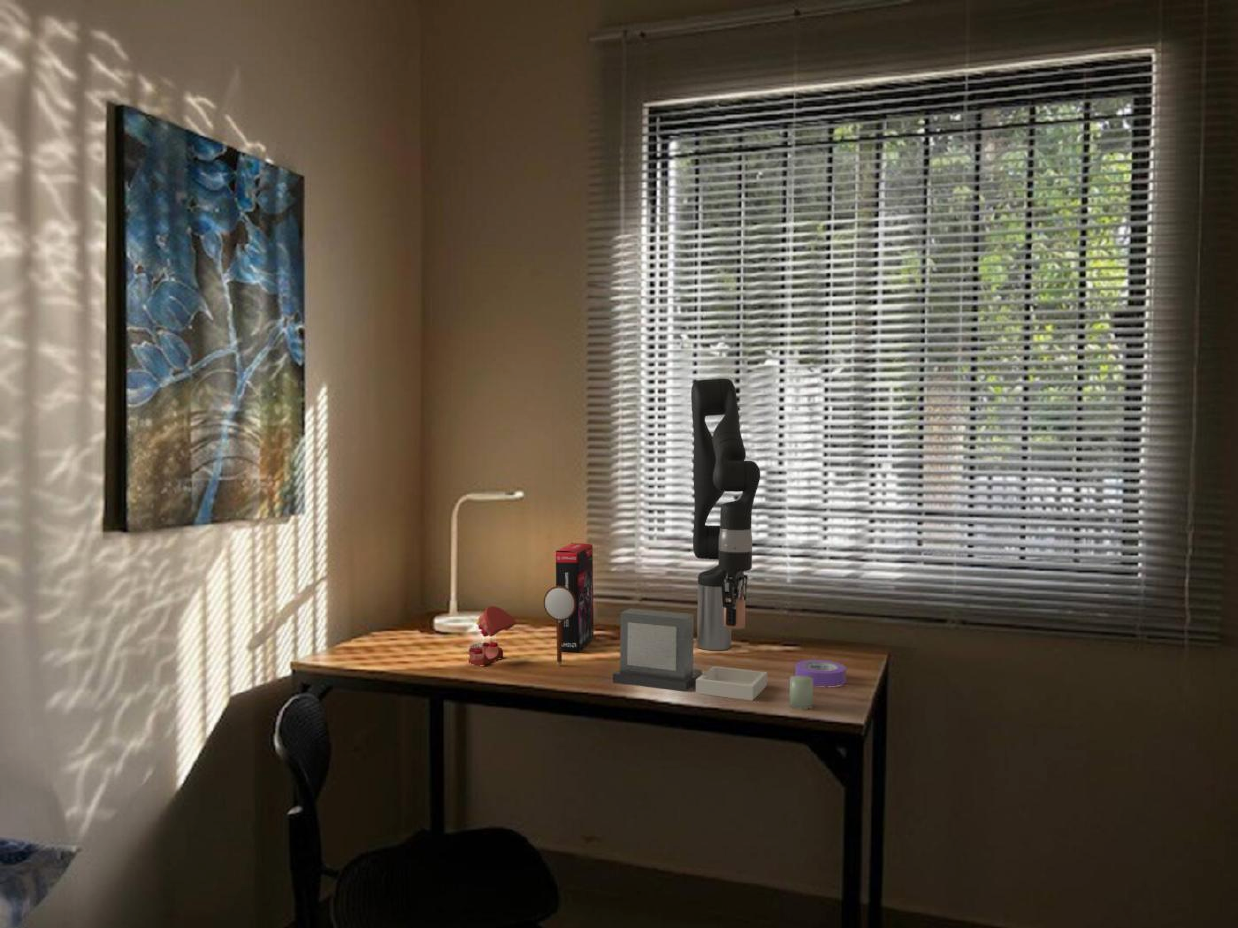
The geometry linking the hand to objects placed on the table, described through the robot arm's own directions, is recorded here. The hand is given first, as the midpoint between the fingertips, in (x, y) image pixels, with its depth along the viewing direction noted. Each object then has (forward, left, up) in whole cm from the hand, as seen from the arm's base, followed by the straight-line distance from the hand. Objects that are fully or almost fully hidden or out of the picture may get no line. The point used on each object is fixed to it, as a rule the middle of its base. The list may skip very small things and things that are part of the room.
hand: (734, 622), depth 205 cm
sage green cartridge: (+6, +17, -15) cm, 24 cm away
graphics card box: (-23, -51, -15) cm, 58 cm away
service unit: (0, -18, -15) cm, 24 cm away
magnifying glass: (-2, -45, -15) cm, 48 cm away
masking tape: (-16, +17, -16) cm, 28 cm away
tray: (0, 0, -15) cm, 15 cm away
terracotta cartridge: (0, 0, -1) cm, 1 cm away
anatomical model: (+2, -63, -15) cm, 65 cm away
